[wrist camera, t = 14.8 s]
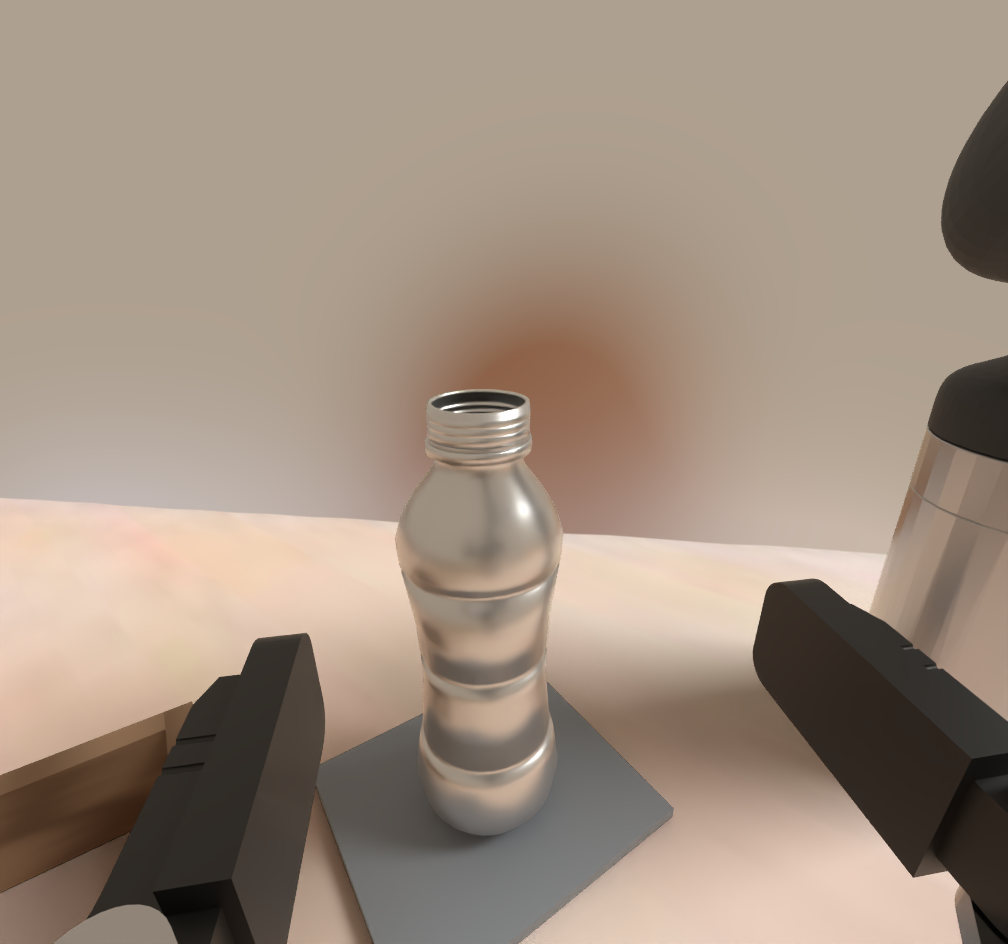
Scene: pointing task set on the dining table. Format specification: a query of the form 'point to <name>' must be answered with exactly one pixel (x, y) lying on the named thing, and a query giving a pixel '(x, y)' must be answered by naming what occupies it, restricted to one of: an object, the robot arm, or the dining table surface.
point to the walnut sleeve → (81, 796)
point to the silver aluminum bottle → (482, 612)
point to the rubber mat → (480, 838)
